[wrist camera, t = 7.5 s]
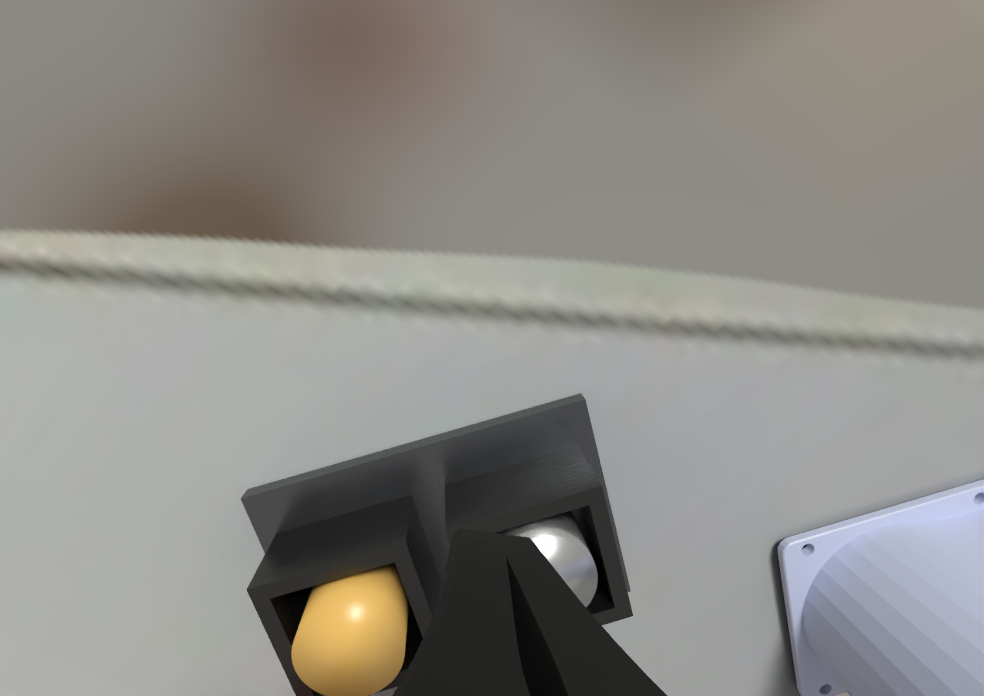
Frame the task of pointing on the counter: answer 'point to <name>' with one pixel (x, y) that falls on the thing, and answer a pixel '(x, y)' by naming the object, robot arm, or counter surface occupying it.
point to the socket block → (430, 516)
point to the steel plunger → (563, 551)
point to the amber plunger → (353, 633)
